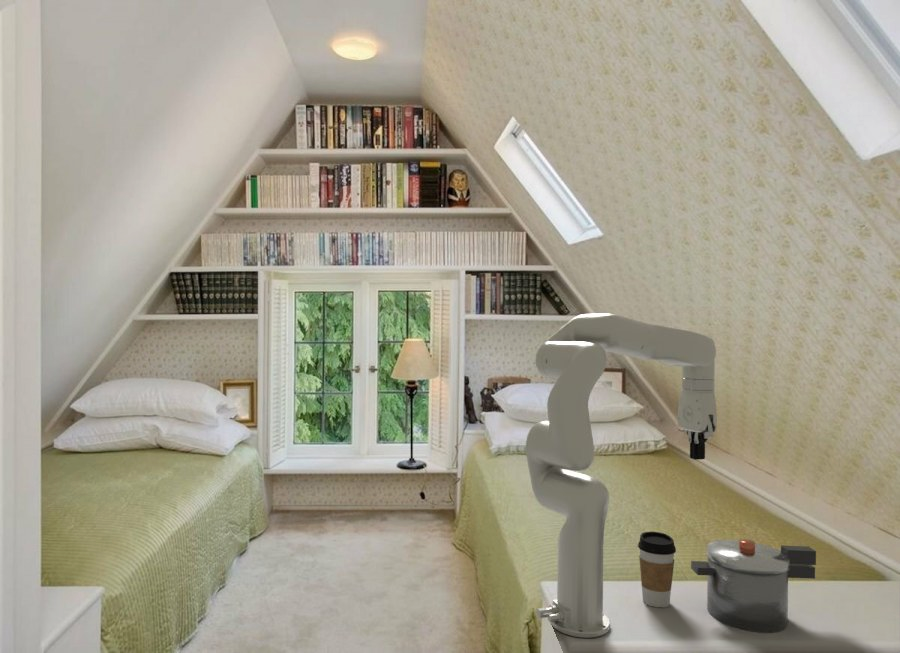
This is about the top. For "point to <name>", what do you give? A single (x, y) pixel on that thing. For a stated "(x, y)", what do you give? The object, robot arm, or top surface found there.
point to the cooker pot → (749, 595)
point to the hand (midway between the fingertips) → (697, 458)
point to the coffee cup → (656, 567)
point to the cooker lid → (758, 556)
